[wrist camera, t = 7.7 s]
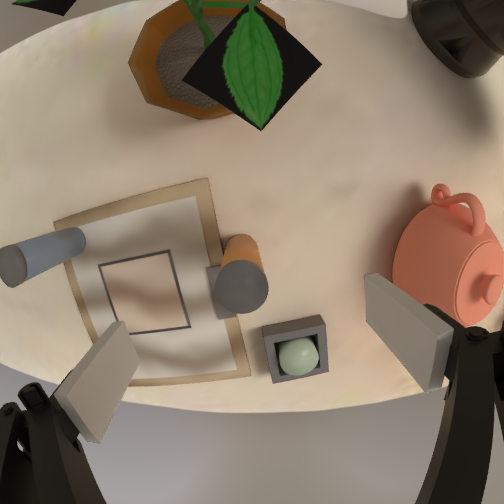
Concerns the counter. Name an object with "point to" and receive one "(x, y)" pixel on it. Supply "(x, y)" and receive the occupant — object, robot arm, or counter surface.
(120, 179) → the counter surface
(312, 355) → the button
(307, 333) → the button base
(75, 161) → the counter surface
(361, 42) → the counter surface
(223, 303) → the orange marker
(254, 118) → the potted plant
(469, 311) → the teapot
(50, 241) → the blue marker
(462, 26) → the robot arm
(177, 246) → the clipboard
